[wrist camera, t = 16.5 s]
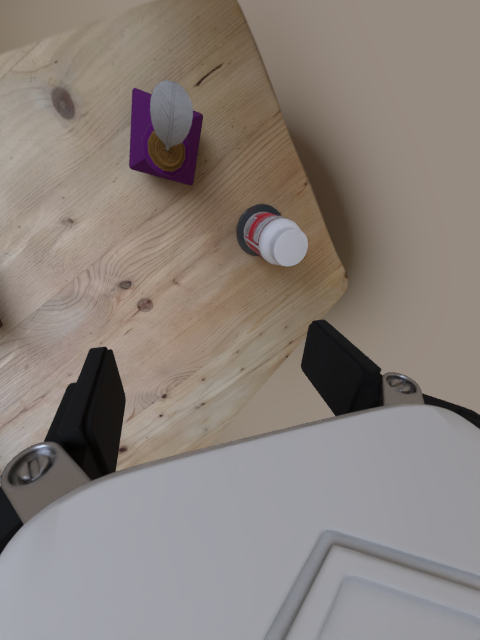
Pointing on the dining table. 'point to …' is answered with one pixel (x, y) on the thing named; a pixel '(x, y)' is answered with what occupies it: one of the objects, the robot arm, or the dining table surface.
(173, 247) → the dining table surface
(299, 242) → the pill bottle
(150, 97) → the perfume bottle
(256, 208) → the coaster
